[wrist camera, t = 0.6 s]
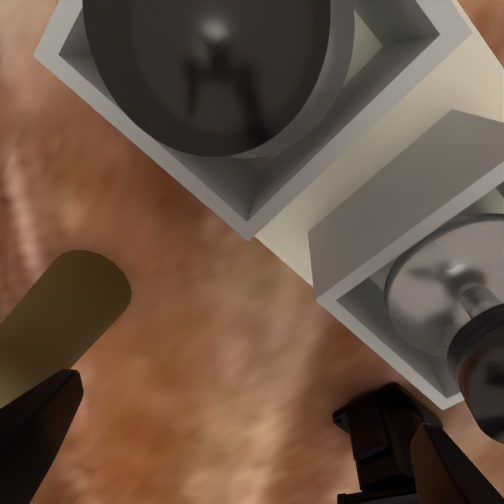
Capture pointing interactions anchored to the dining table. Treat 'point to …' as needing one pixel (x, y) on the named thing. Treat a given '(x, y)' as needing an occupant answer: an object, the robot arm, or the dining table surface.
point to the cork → (59, 320)
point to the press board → (350, 162)
